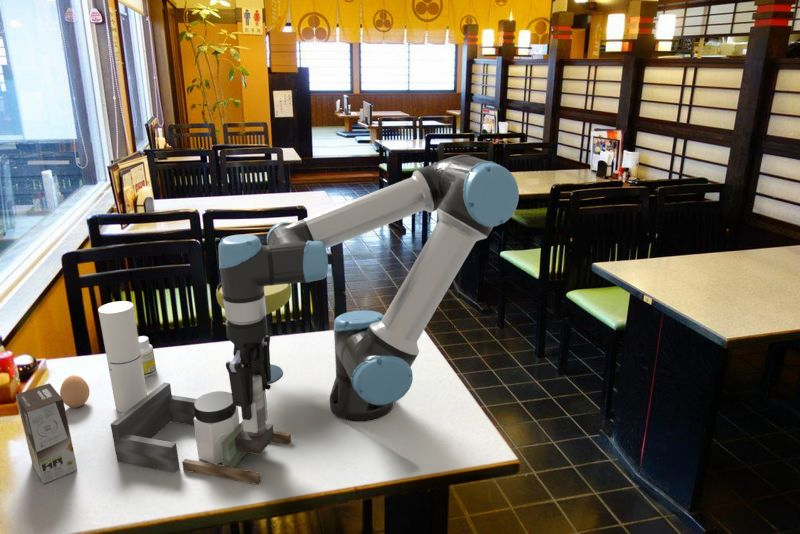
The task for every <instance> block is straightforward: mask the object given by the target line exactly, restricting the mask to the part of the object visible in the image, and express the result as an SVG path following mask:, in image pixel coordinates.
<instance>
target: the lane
mask: <svg viewBox="0 0 800 534" xmlns="http://www.w3.org/2000/svg"><path fill="white" fill-rule="evenodd" d="M197 399H198V398H192V397H188V396H187V397H186V396H182V395H181V396H180V395H175V394H174V395H173V394H172V389H171V383H170V382H163V383H162V384H160V385H159V386H158V387H156V388H155V389H154V390H152V391H151V392H150V393H148V394H147V396H146V397H145V398H143V399H142V400H141V401H140V402H138V403H137V404H136V405H134V406H133V407H132V408H130V409H129V410H128V411H127V412H123V414H121V415H120V416H119V417H117V418H116V419H115V420H113V422H111V423H110V429H111V434H112V440H113V445H114V451H115V456H116V462H117V463H118V464H119V463H120V464H124V465H129V466H136V467H140V468H146V469H150V470H157V471H161V472H165V473H166V472H167V473H172V474H177V472H178V471H179V470H180V468H181V466H180V461H179V453H178V447H177V446H178V445H177V443H176V442H171V441H165V440H159V439H155V438H154V437H156V436H157V435H158V434H159V433H160V432H161V431H162V430H163V429H164V428H165V427H167V426H168V425H169V424H170V423H177V424H183V425H189V426H194V417H195V411H194V403H195V401H196V400H197ZM273 432H274V438H273V439H272V440H271V442H275V443H276V442H277V443H282V444H288V445H289V444H290V443H291V442H292V438H291V436H292V435H291V432H287V431H286V432H285V431H280V430H275V429H273ZM181 462H182V463H181V464H182V469H183V471H184V472H189V473H196V474H201V475H207V476H211V477H216V478H222V479H226V480H227V479H228V480H232V481H237V482H243V483H247V484H248V483H249V484H254V485H259V484H260V483H261V481H262V480H261V478H262V477H261V473H260V471H259V472H258V471H254V470H248V469H243V468H242V469H241V468H237V467H234V468H232V467H227V466H224V465H221V464H212V463H210V462H206V461H205V462H204V461H199V460H194V459H189V458H184V459H183V460H182V461H181Z"/></svg>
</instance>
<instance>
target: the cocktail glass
mask: <svg viewBox="0 0 800 534" xmlns="http://www.w3.org/2000/svg"><path fill="white" fill-rule="evenodd" d="M215 291H216V292H215V296H216V300H217V301H216V302H217V303H218V305H219V307H220V308H222V309H223V310H225V309H224V303H223V300H224V299H223V292H222V284H221V282H220V283H219V284H218V285H217V288H216V290H215ZM264 295H265V305H266V315H265V316H267V315H269V314H272V313H274V312H277V311H278V310H280V309H281V308H283V307H284V306H285V305H286V304H287V303H288V302H289V300H291V296H292V286H291V284H281V285H272V286H264ZM270 369H271V381H270V382H267V384H268V385H269V384H271V383H274V382H275V381H277V380H279V379H280V378H281V377H282V375H283V370H282V368H281V367H280V366H278V365H276V364H271V363H270ZM265 376H266V374H265Z"/></svg>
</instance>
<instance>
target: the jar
mask: <svg viewBox="0 0 800 534" xmlns="http://www.w3.org/2000/svg"><path fill="white" fill-rule="evenodd" d="M196 399H197V400H196V401H195V403H194V411H195V417H194V425H193V426H194V432H195V433H194V434H195V442H196V448H197V456H198V457H197V458H199V459H200V460H203V461H205V462H206V463H211V464H216V465H219V464H222V463H223V454H222V445H221V444H222V442H223V441H224V440H225V439H226V438H227V437H228V436H229V435H230V434H231V433H232V432H233V431H234V430H235V428H236V427H237V426H238V425H239V424H240V423H241V422H240V416H239V406H234V405H233V399H232V392H229V391H223V390H222V391H221V390H218V391H217V390H216V391H211V392H208V393H205V394H202V395H201V396H199V397H198V398H196Z"/></svg>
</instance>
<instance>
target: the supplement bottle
mask: <svg viewBox="0 0 800 534" xmlns="http://www.w3.org/2000/svg"><path fill="white" fill-rule="evenodd" d="M138 339H139V345H140V351H141V358H142V364H143V371H144V378H147V377H151V376H153V375H154V374H155V373H156V372H157V366H156V360H155V359H156V358H155V353H154V348H153V345H152V344H150V340H149V337H148V336H146V335H141V336H140V335H138Z"/></svg>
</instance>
